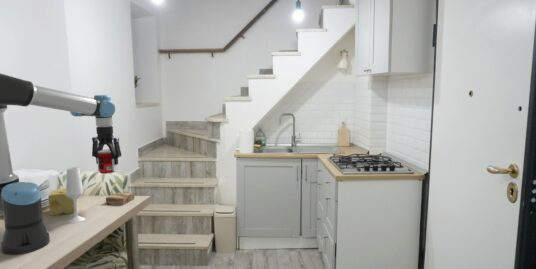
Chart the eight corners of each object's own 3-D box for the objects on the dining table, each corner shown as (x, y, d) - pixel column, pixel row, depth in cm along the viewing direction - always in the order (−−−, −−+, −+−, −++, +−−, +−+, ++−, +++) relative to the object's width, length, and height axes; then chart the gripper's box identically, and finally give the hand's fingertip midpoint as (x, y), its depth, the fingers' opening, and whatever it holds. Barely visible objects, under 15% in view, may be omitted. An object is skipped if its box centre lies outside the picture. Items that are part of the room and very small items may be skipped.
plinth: (123, 204, 176) (123, 198, 176) (106, 203, 178) (105, 197, 178) (134, 198, 186) (134, 193, 186) (118, 197, 188) (117, 191, 188)
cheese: (74, 213, 165) (73, 193, 163) (48, 216, 161) (46, 195, 159) (77, 206, 174) (76, 187, 173) (53, 209, 170) (51, 189, 169)
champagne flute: (65, 221, 154) (60, 169, 151) (78, 216, 160) (75, 166, 157) (74, 223, 151) (70, 170, 148) (88, 218, 157) (85, 167, 154)
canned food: (119, 170, 178) (117, 149, 177) (110, 174, 171) (109, 152, 169) (105, 169, 179) (103, 149, 178) (96, 173, 171) (94, 152, 170)
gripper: (127, 125, 173) (130, 169, 176) (91, 124, 177) (95, 167, 180) (118, 127, 166) (121, 173, 169) (81, 126, 170) (84, 171, 173)
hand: (107, 170), depth 175 cm, fingers closed on canned food, 8 cm apart
